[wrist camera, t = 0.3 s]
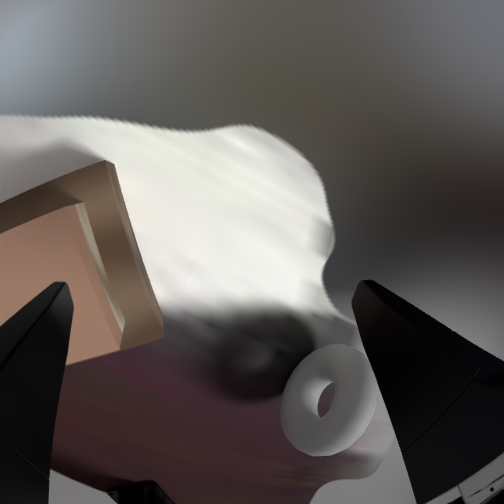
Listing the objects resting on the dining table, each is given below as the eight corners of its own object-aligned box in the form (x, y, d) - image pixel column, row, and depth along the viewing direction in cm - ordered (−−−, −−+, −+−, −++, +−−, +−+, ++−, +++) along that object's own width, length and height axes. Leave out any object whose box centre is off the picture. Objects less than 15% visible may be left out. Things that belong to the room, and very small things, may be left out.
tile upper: (122, 333, 18) (119, 349, 16) (20, 362, 16) (11, 378, 14) (75, 204, 16) (65, 206, 14) (-28, 248, 14) (-44, 255, 12)
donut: (287, 413, 30) (330, 480, 20) (260, 405, 29) (299, 478, 19) (343, 333, 29) (408, 386, 20) (317, 320, 28) (382, 376, 19)
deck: (162, 315, 24) (163, 338, 21) (21, 357, 21) (5, 381, 18) (114, 164, 21) (104, 160, 17) (-32, 226, 18) (-57, 233, 14)
